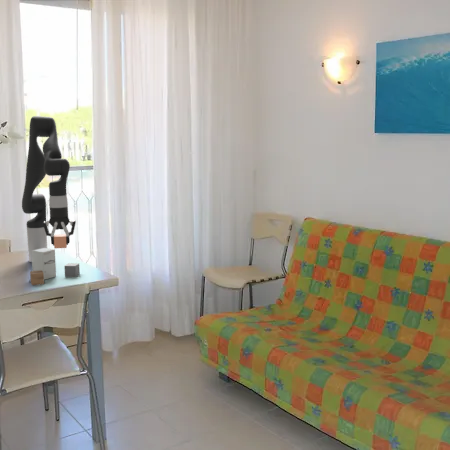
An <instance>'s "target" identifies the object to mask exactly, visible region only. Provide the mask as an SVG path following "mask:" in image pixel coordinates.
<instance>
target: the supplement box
mask: <svg viewBox="0 0 450 450" xmlns="http://www.w3.org/2000/svg"><path fill="white" fill-rule="evenodd" d="M31 265H32V266H31V268H32V269H31V271H40V270H42V271H43V275H44V281H45V280H48V279H52V278H56V277H57V271H56V270H57V269H56V267H57V263H56V248H48V247H47V248H42V249H37V250H33V251H32V262H31Z"/></svg>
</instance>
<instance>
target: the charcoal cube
mask: <svg viewBox="0 0 450 450" xmlns="http://www.w3.org/2000/svg"><path fill="white" fill-rule="evenodd" d="M78 276H80V263H77V262H76V263H74V262H73V263H72V262H71V263H70V262H69V263H67V264H64V277H66V278H67V277H69V278H70V277H71V278H72V277H73V278H76V277H78Z"/></svg>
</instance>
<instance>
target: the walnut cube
mask: <svg viewBox="0 0 450 450" xmlns="http://www.w3.org/2000/svg"><path fill="white" fill-rule="evenodd" d="M29 278H30V284H31V286H38V285H39V284H40V285H44V284H45V280H44V275H43V271H42V270H40V271H33V270H31V271H29Z"/></svg>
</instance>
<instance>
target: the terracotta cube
mask: <svg viewBox="0 0 450 450" xmlns="http://www.w3.org/2000/svg"><path fill="white" fill-rule="evenodd" d="M67 246H68V245H66V234H65V233H64V234H63V233H62V234H54V245H53V247H54V248H53V249H67Z"/></svg>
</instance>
